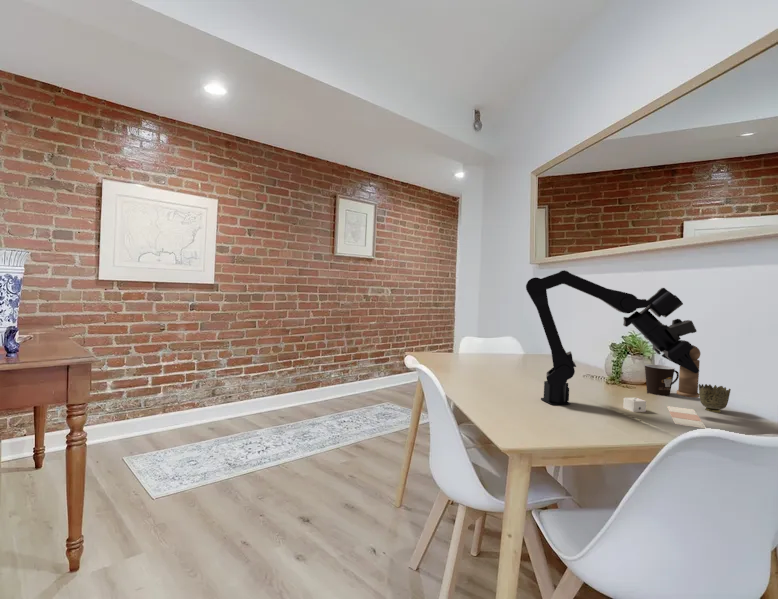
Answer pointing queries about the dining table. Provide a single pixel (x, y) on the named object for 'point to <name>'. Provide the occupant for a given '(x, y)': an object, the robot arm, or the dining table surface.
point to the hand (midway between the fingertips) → (695, 370)
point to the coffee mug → (659, 379)
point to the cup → (713, 397)
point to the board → (685, 417)
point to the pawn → (689, 377)
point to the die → (634, 404)
